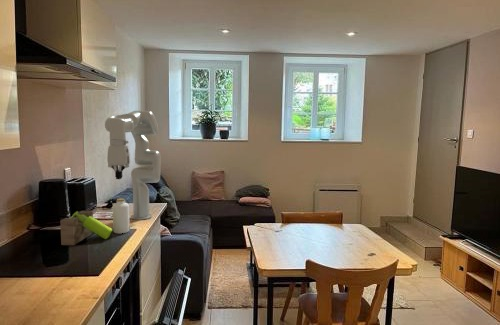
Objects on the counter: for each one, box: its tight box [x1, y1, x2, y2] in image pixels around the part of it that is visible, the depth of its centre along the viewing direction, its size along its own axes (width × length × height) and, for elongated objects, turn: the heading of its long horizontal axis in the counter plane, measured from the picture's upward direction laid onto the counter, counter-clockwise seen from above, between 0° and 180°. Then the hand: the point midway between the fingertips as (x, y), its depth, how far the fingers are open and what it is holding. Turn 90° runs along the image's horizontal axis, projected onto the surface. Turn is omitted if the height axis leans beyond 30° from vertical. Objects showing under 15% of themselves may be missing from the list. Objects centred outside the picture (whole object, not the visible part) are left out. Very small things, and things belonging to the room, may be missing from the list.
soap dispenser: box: [70, 210, 113, 240], centre depth 181 cm, size 6×7×20 cm
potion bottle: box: [112, 198, 130, 235], centre depth 193 cm, size 8×8×18 cm
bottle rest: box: [59, 210, 94, 246], centre depth 181 cm, size 20×6×12 cm, turn 178°
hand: (119, 178), depth 184 cm, fingers closed
